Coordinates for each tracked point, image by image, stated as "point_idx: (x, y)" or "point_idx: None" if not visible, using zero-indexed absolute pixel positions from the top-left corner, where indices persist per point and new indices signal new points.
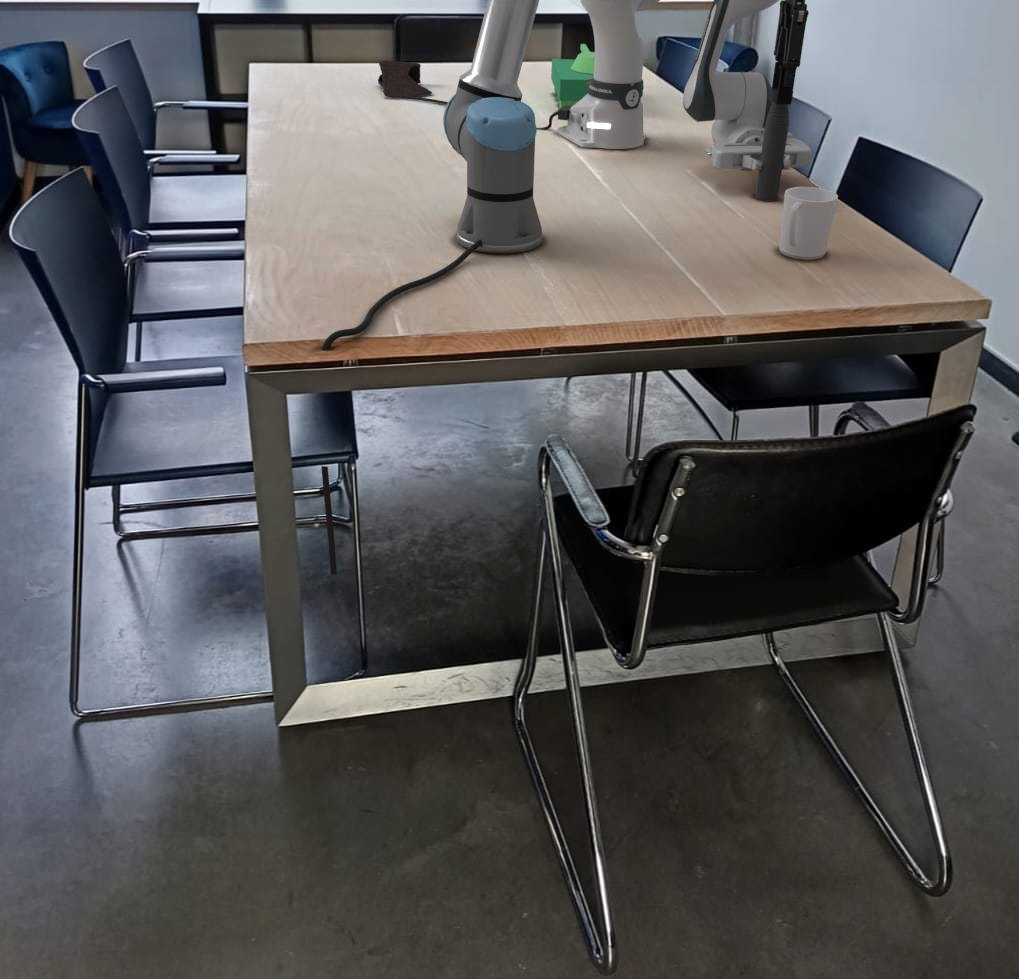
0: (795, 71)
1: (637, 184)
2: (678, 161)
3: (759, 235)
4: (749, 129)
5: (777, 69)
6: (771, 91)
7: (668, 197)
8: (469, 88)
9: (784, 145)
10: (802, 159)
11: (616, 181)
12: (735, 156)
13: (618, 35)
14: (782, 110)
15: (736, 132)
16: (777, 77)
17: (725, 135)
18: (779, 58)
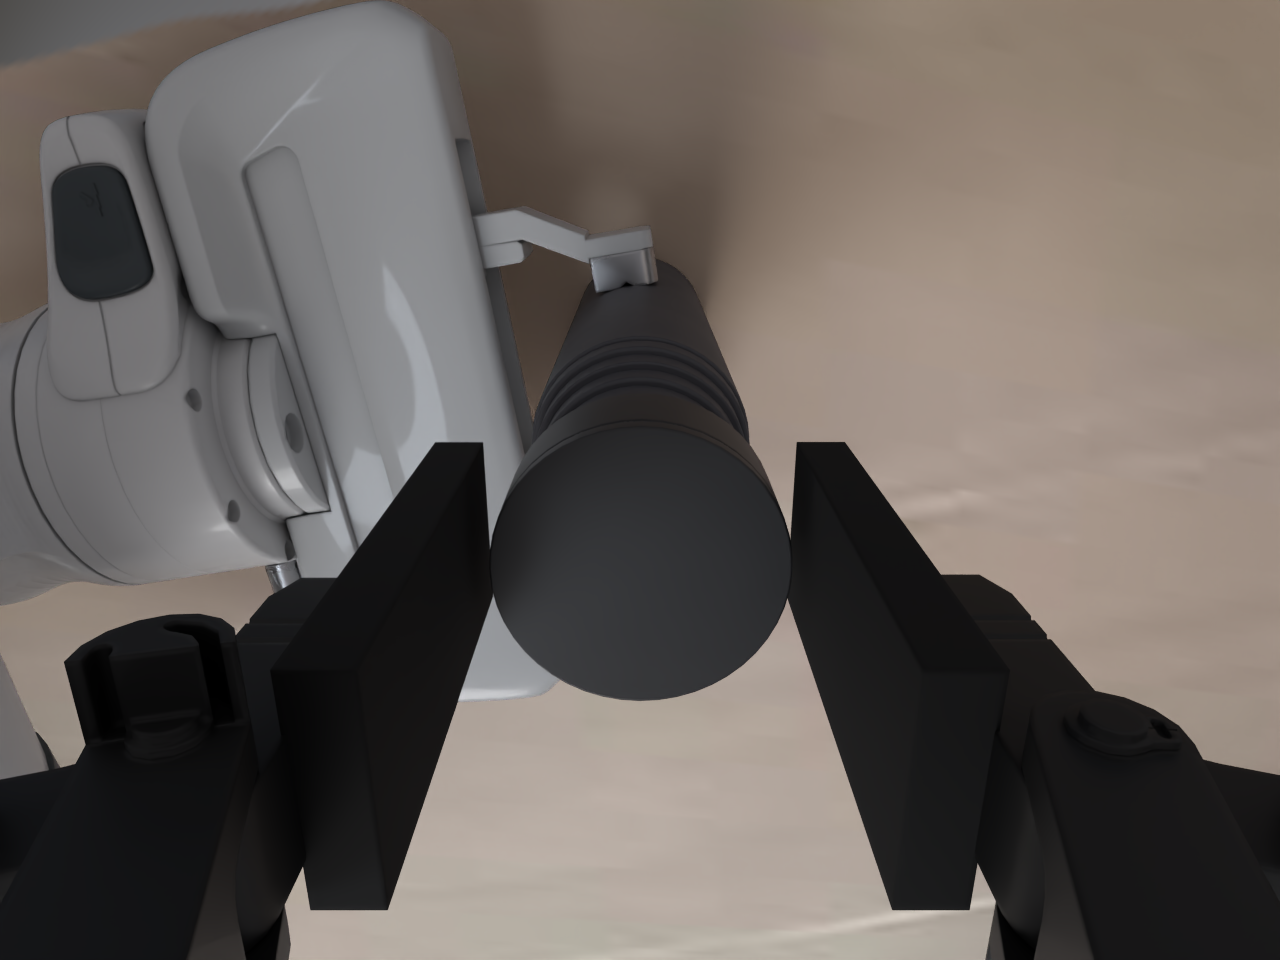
0: (987, 645)
1: (480, 867)
2: (17, 669)
3: (1251, 464)
4: (215, 507)
5: (416, 786)
6: (676, 696)
7: (668, 769)
8: None
9: (699, 326)
10: (452, 88)
11: (447, 936)
12: None
13: None
14: None
15: (176, 565)
16: (440, 691)
17: (67, 582)
18: (283, 910)
